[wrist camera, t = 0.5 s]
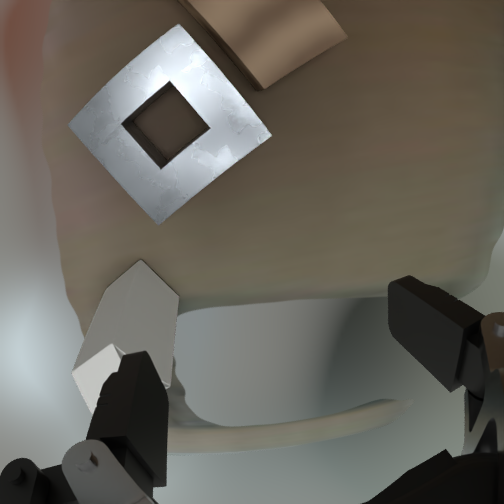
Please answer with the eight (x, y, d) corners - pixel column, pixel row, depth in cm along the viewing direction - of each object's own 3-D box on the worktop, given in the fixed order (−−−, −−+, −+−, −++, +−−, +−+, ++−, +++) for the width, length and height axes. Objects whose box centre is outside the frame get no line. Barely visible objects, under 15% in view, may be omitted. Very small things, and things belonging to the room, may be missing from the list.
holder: (84, 121, 28) (67, 125, 24) (183, 33, 26) (178, 23, 22) (164, 210, 34) (158, 225, 30) (264, 131, 32) (272, 135, 28)
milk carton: (105, 288, 38) (60, 404, 21) (141, 257, 37) (101, 378, 20) (143, 321, 41) (120, 441, 24) (179, 295, 40) (169, 421, 23)
